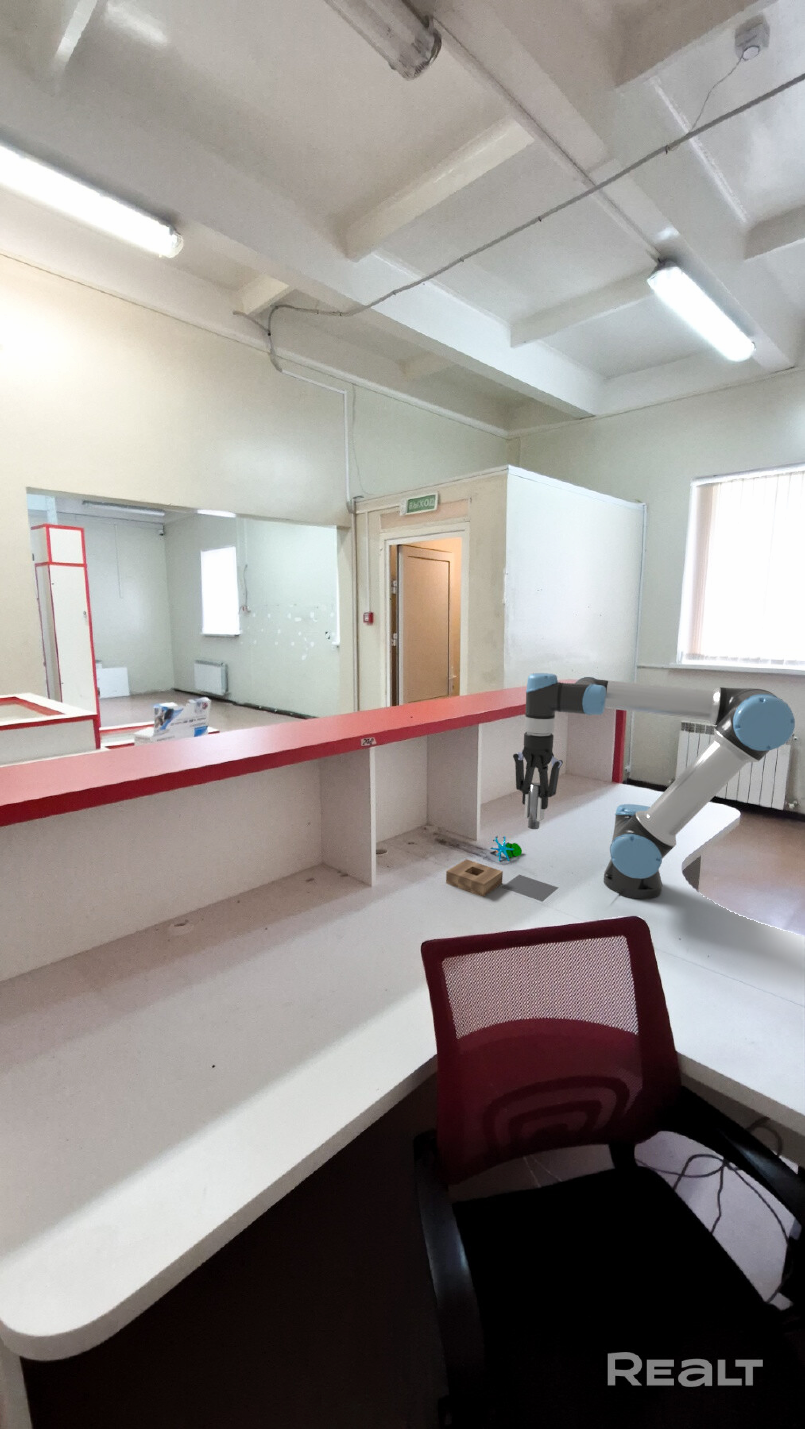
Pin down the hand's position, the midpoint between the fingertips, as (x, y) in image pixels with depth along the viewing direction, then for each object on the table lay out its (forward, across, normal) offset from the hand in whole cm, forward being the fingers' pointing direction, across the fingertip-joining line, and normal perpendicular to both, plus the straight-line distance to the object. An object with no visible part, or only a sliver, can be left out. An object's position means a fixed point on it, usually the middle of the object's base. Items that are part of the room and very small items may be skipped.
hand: (534, 818), depth 157 cm
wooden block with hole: (+20, +13, +8) cm, 26 cm away
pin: (+3, 0, 0) cm, 3 cm away
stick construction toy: (+21, +16, -14) cm, 30 cm away
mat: (+20, 0, 0) cm, 20 cm away
